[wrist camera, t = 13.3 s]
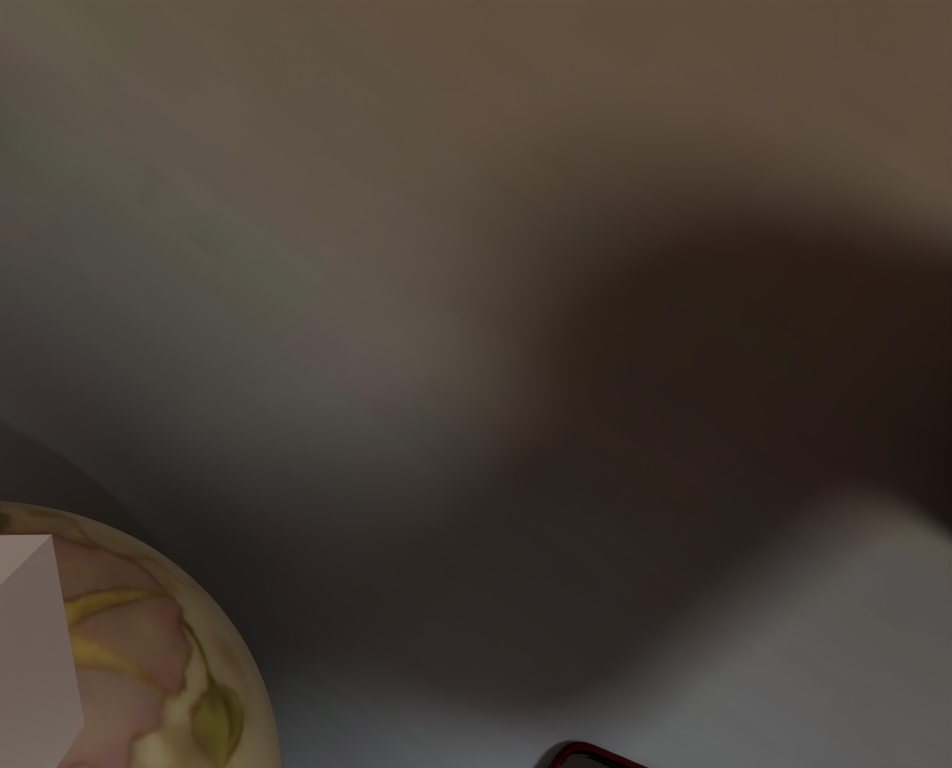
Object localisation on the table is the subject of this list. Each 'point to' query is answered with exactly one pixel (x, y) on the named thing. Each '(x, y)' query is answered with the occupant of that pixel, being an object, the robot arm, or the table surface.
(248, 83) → the table surface
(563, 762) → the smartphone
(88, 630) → the pitcher
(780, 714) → the table surface
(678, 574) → the table surface
